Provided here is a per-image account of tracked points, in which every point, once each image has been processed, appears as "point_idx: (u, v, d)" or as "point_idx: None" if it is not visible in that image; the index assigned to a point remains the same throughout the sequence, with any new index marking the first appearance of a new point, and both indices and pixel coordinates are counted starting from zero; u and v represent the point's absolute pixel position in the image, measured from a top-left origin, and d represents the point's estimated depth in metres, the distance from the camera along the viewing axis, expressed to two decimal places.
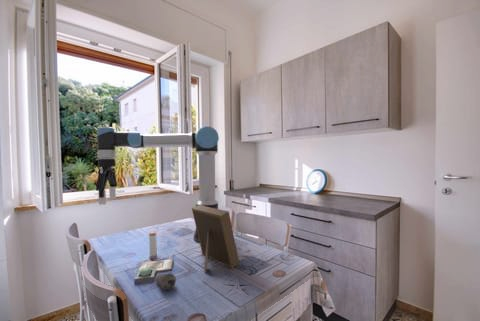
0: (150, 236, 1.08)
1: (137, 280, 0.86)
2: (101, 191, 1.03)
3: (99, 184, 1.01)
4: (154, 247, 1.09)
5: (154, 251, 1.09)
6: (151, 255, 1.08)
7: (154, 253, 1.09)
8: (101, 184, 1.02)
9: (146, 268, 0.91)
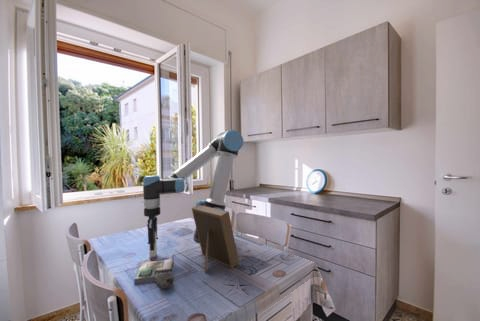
0: None
1: (137, 280, 0.86)
2: (152, 244, 1.07)
3: (150, 239, 1.05)
4: None
5: None
6: None
7: None
8: (152, 239, 1.05)
9: (146, 268, 0.91)
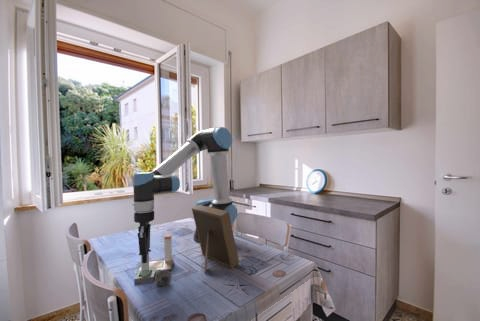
0: (166, 239, 1.01)
1: (137, 280, 0.86)
2: (144, 256, 0.88)
3: (142, 250, 0.86)
4: (169, 251, 1.02)
5: (169, 255, 1.02)
6: (166, 260, 1.01)
7: (169, 258, 1.02)
8: (144, 250, 0.86)
9: None
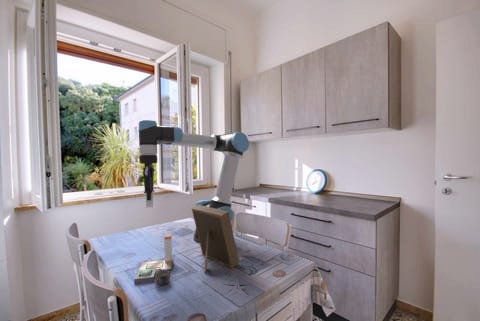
0: (166, 239, 1.01)
1: (137, 280, 0.86)
2: (149, 193, 0.99)
3: (147, 187, 0.97)
4: (169, 251, 1.02)
5: (169, 255, 1.02)
6: (166, 260, 1.01)
7: (169, 258, 1.02)
8: (149, 187, 0.97)
9: (146, 270, 0.91)
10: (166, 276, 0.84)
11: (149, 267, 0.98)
